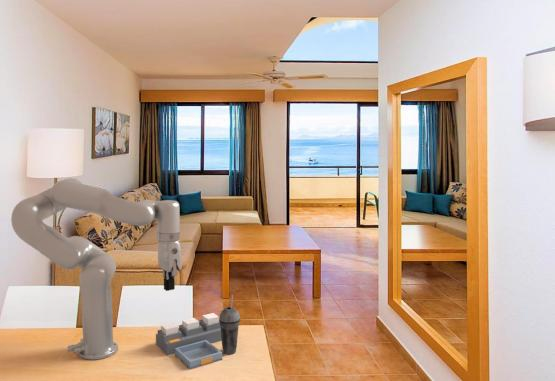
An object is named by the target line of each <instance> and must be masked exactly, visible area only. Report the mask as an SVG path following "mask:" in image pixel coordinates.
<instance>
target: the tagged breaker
mask: <svg viewBox="0 0 555 381" xmlns="http://www.w3.org/2000/svg"><path fill="white" fill-rule="evenodd" d="M178 328H179V325H177V324H176V323H174V322H169V323H164V324H160V330H161V332H162V333H163V334H164V335H165V336H166V335H170V334H174V333H178Z"/></svg>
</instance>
